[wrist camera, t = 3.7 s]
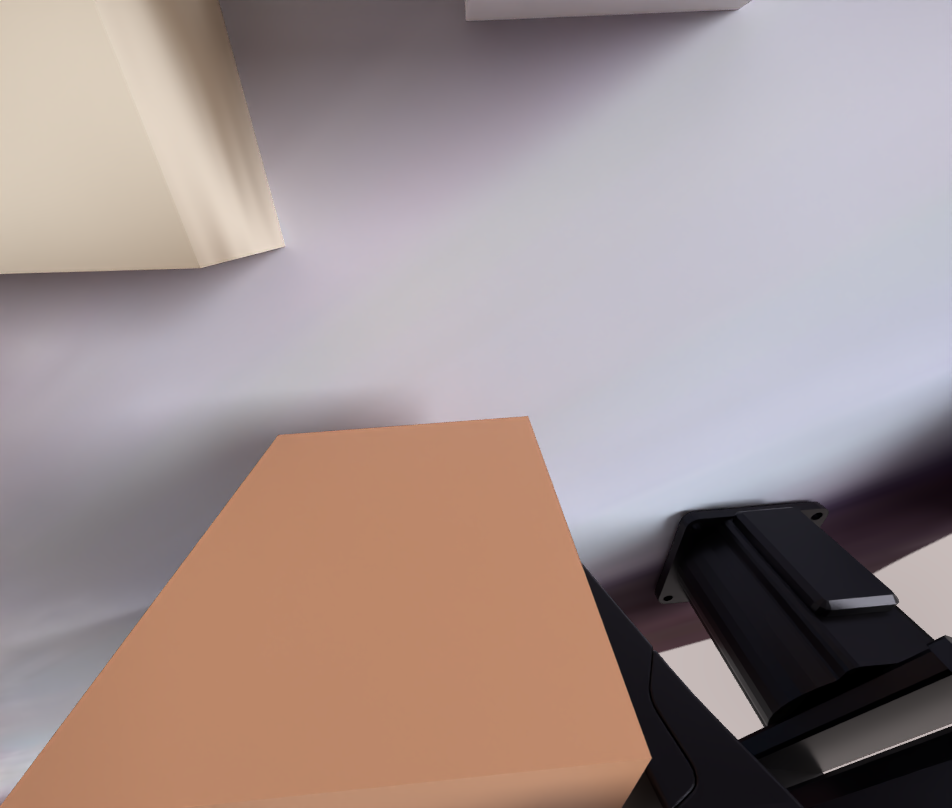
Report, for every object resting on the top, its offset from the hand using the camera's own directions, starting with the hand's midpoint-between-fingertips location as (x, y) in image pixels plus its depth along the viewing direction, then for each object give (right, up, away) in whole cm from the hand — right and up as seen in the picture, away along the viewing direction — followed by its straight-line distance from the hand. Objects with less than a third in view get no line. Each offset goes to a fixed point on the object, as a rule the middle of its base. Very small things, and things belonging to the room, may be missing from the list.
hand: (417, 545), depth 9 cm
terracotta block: (0, 0, +1) cm, 1 cm away
